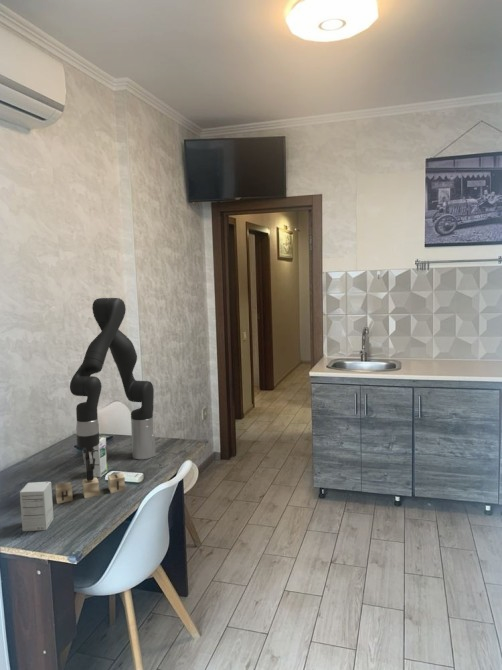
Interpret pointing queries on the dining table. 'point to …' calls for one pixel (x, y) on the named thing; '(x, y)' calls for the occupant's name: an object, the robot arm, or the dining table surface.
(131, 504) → the dining table surface
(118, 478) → the digit one block
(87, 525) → the dining table surface
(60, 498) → the light wooden cube
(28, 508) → the supplement box
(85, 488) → the plain block
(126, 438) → the dining table surface
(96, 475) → the syrup box
